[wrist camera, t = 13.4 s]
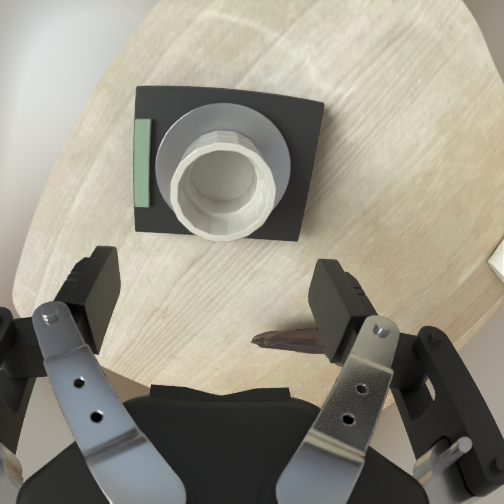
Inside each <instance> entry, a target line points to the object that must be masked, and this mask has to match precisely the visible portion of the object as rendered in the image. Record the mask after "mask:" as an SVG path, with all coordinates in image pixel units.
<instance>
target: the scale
mask: <svg viewBox="0 0 504 504" xmlns="http://www.w3.org/2000/svg"><path fill="white" fill-rule="evenodd" d="M212 103H235V104H240V105H244V106H247V107H249V108H252V109H254V110H256V111H258V112H259V113H261V114H262V115H264V116H265V117H266V118H268V119H269V120H270V121H271V122H272V123H273V124H274V125H275V126H276V127H277V129H278V130H279V131H280V133H281V134H282V136H283V138H284V140H285V142H286V145H287V148H288V151H289V156H290V167H291V169H290V177H289V182H288V185H287V188H286V190H285V193H284V195H283V196H282V198H281V200H280V201H279V203H278V204H277V206H276V207H275V208H274V209H273V210H272V211H271V213H270V214H269V216H268V218H267V219H266V221H265V222H264V224H263V225H262V226H261V227H259V228H258V229H257V230H255V231H254V232H252V233H251V234H250V235H248V236H246V237H243V238H252V239H268V240H282V241H298V238H299V234H300V229H301V224H302V219H303V215H304V210H305V205H306V200H307V195H308V190H309V185H310V180H311V175H312V169H313V164H314V159H315V153H316V148H317V142H318V137H319V131H320V126H321V120H322V114H323V108H324V103H323V102H318V101H314V100H308V99H303V98H297V97H291V96H284V95H278V94H270V93H263V92H255V91H246V90H236V89H224V88H211V87H192V86H137V87H136V98H135V117H134V150H133V182H134V217H135V231H136V232H153V233H171V234H188V235H196V234H193V233H192V232H190V231H189V230H188V229H187V228H186V227H185V226H184V225H183V224H182V223H181V222H180V221H179V220H178V218H177V216H176V214H175V212H174V211H173V210H172V209H171V208H170V207H169V206H168V204H167V203H166V201H165V200H164V198H163V196H162V194H161V192H160V190H159V187H158V184H157V178H156V157H157V153H158V149H159V147H160V144H161V142H162V140H163V138H164V136H165V134H166V133H167V132H168V130H169V129H170V128H171V126H172V125H173V124H174V123H175V122H176V121H177V120H179V119H180V118H181V117H182V116H184V115H185V114H186V113H188V112H190V111H192V110H194V109H196V108H198V107H201V106H204V105H208V104H212Z"/></svg>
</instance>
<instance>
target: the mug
mask: <svg viewBox="0 0 504 504" xmlns="http://www.w3.org/2000/svg"><path fill="white" fill-rule="evenodd" d="M488 264H489V266H490V267H491V268H492V270H493V271H494V272H495V273H496V275H497V276H498V277H499V278H500V279H501V281H502V282H503V283H504V238H503V240H502V241H501V243H500V244H499V246H498V247H497V249H496V250H495V252H494V253H493V255H492V256H491V257H490V259H489V260H488Z"/></svg>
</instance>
